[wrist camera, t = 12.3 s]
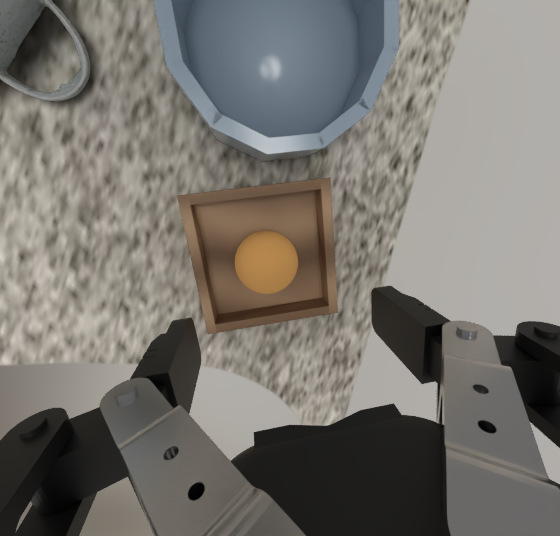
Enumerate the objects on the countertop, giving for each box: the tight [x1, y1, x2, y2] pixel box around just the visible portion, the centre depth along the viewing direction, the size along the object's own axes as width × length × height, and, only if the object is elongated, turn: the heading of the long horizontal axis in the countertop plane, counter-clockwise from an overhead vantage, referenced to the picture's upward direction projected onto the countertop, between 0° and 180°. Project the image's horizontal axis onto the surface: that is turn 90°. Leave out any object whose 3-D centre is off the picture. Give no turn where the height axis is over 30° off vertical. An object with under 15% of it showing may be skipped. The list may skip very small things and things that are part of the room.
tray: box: [178, 178, 338, 334], centre depth 24 cm, size 12×12×3 cm
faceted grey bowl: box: [153, 0, 399, 161], centre depth 19 cm, size 15×15×5 cm
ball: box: [235, 230, 298, 294], centre depth 22 cm, size 5×5×5 cm
